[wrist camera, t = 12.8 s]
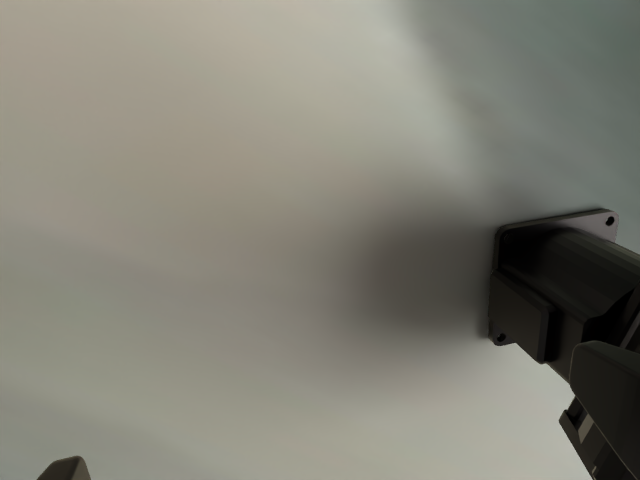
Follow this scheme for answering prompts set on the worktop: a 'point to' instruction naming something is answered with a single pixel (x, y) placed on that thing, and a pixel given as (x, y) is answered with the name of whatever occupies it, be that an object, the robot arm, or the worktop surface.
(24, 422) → the worktop surface
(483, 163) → the worktop surface
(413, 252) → the worktop surface
